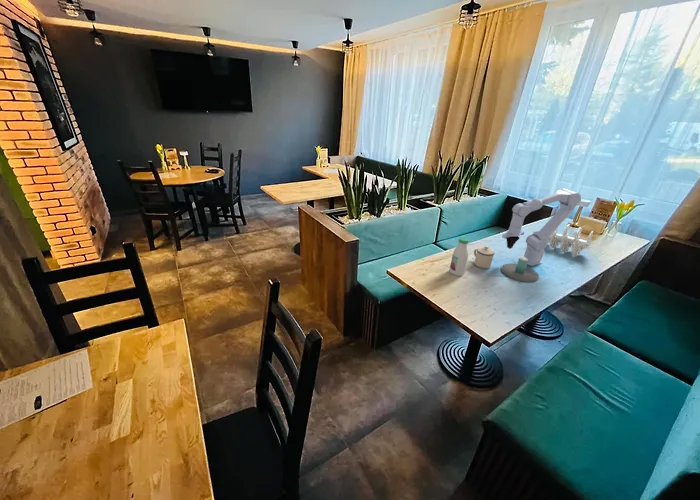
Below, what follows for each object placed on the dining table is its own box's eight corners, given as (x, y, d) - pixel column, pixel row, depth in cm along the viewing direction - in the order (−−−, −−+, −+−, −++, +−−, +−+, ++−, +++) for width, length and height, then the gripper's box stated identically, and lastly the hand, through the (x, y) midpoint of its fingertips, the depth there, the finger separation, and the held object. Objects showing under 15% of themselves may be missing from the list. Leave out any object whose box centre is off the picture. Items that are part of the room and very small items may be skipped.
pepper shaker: (518, 268, 161) (522, 256, 158) (525, 272, 158) (530, 259, 154) (513, 270, 160) (517, 257, 156) (520, 274, 156) (524, 261, 153)
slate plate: (516, 262, 170) (517, 261, 169) (545, 278, 155) (546, 276, 155) (493, 268, 163) (494, 266, 163) (521, 285, 149) (522, 283, 148)
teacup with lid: (494, 267, 165) (499, 248, 159) (482, 270, 161) (487, 251, 156) (478, 257, 174) (482, 240, 169) (466, 260, 171) (470, 242, 166)
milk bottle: (464, 270, 160) (471, 237, 151) (464, 277, 154) (472, 243, 145) (449, 268, 163) (456, 235, 154) (448, 274, 156) (455, 241, 147)
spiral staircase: (541, 248, 197) (585, 261, 179) (533, 243, 185) (580, 257, 167) (552, 222, 195) (598, 233, 177) (545, 216, 183) (594, 227, 165)
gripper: (519, 221, 166) (512, 243, 172) (500, 224, 160) (494, 246, 166) (530, 225, 160) (522, 248, 166) (511, 229, 155) (504, 252, 161)
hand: (509, 247), depth 166 cm, fingers closed
